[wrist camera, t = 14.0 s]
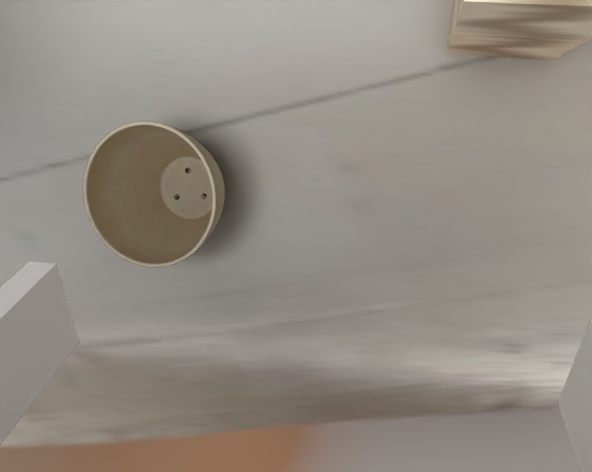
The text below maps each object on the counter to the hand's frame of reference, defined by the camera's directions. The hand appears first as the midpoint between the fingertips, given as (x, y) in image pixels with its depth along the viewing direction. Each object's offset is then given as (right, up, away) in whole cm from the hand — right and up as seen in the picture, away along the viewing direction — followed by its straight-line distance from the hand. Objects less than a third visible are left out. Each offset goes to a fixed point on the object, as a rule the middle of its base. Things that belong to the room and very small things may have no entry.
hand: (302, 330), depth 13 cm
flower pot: (-9, +6, +29) cm, 31 cm away
